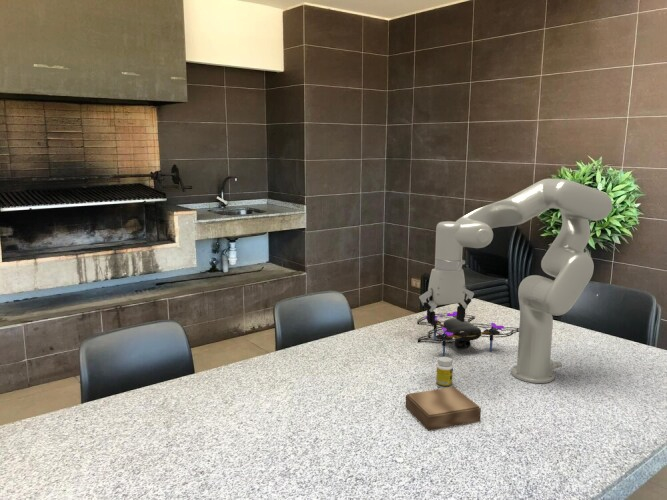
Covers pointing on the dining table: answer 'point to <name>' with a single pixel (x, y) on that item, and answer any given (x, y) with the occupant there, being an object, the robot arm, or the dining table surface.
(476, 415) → the walnut stand
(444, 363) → the supplement bottle
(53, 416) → the dining table surface
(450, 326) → the drone
